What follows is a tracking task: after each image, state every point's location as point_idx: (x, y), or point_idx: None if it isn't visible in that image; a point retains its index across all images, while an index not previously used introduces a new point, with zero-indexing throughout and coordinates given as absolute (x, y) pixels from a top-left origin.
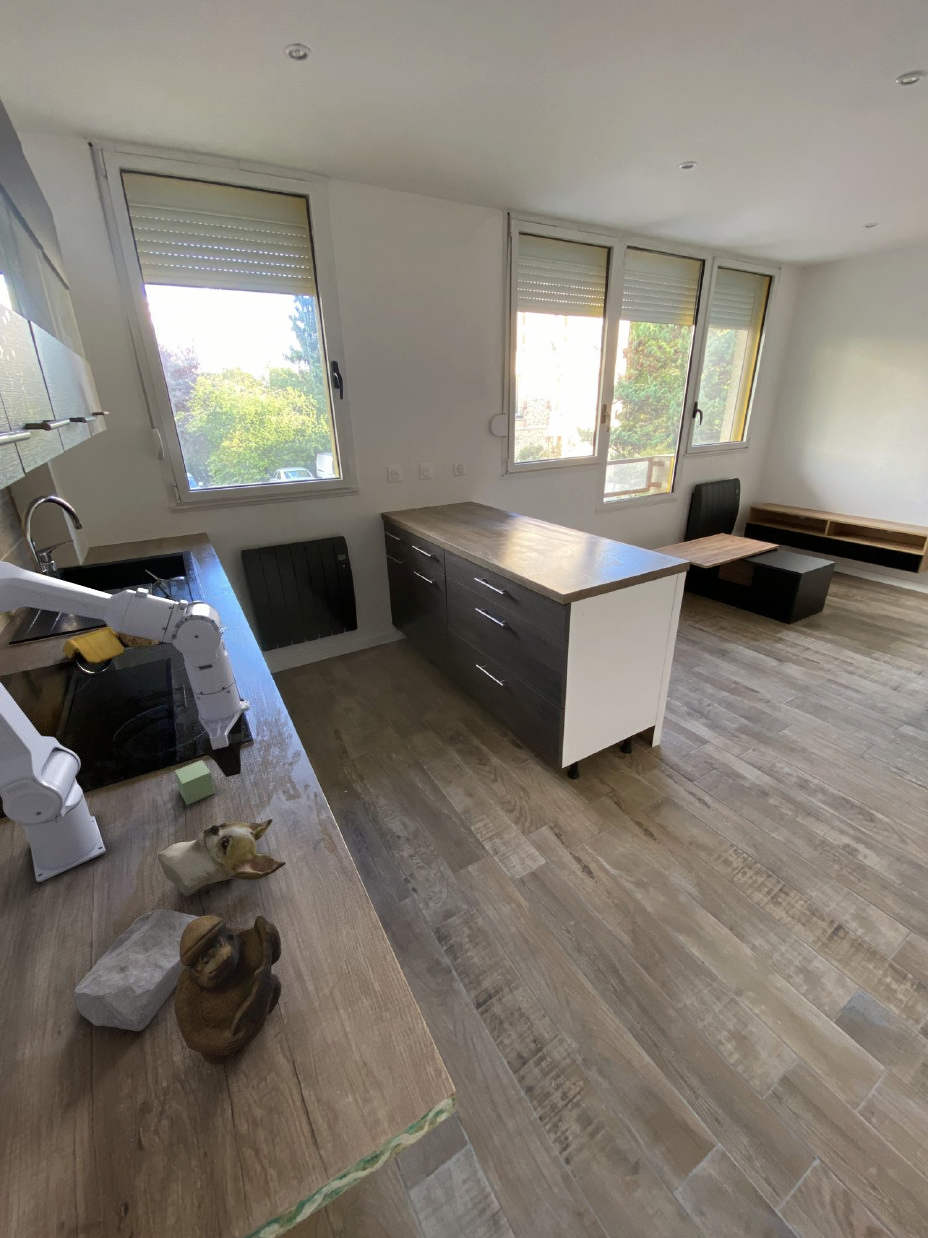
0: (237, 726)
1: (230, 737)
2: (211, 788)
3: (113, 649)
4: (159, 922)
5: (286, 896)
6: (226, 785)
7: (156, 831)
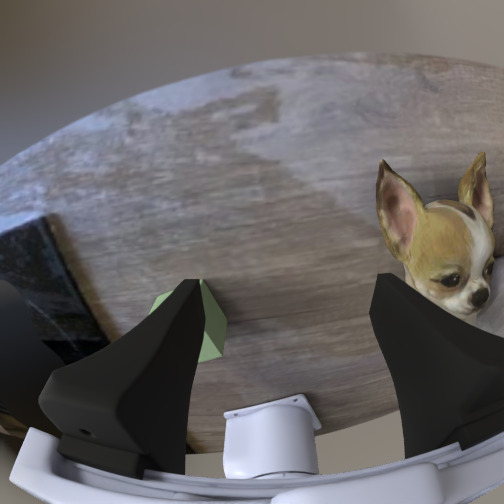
0: (175, 341)
1: (480, 408)
2: (202, 290)
3: None
4: (493, 318)
5: (494, 157)
6: (181, 258)
7: (282, 351)
